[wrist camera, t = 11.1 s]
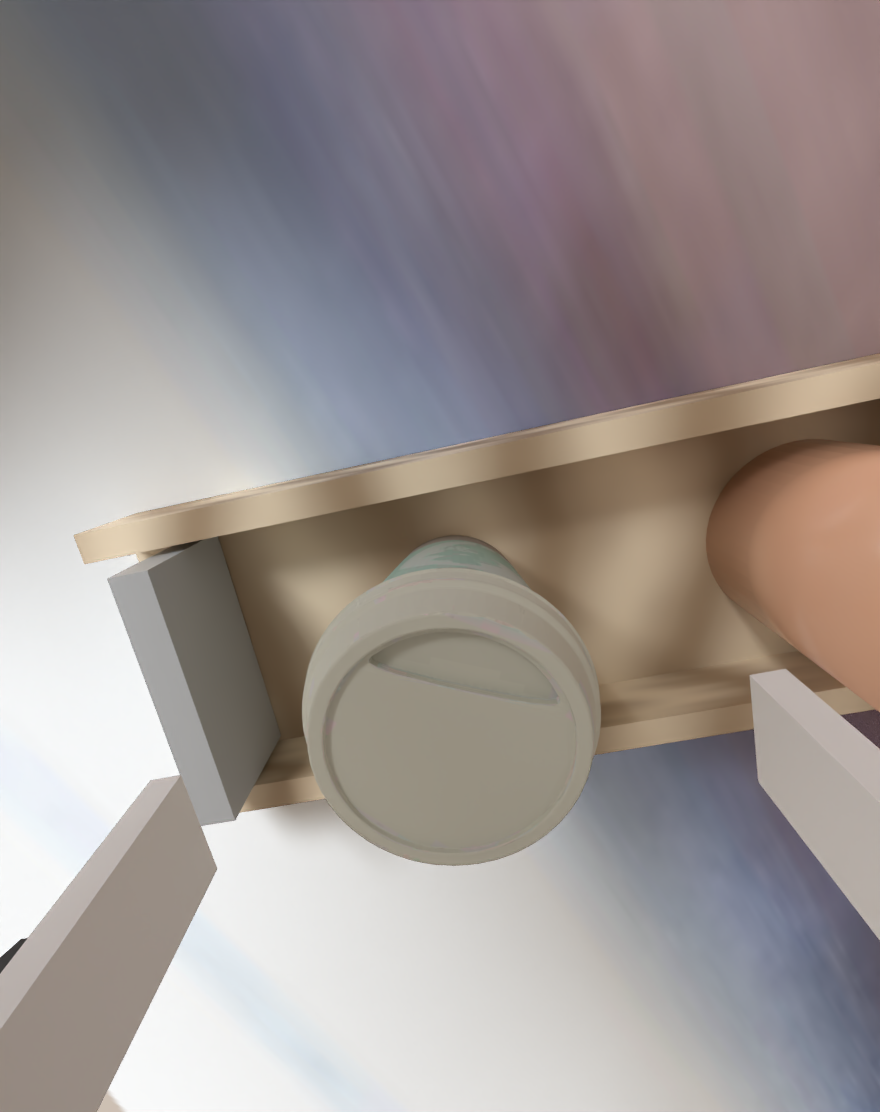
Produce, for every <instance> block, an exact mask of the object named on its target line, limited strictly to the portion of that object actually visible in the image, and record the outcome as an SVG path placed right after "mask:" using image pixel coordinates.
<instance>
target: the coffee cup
mask: <svg viewBox="0 0 880 1112" xmlns="http://www.w3.org/2000/svg"><path fill="white" fill-rule="evenodd" d="M302 721H303V730H304V735H305V739H306V743H307V749H308V755H309V760H310V765H311V768H312V771H313V774H314V777H315V780H316V782H317V784H318V786H319V788H320V790H321V792H322V794H323V795H324V797H325V799H326V800H327V802H328V804H329V805H330V806H331V807H332V809H333V810H334V811H335V812H336V814H337V815H338V816H339V817H340V818H341V819H342V820H343V821H344V822H345V823H346V824H347V825H348V826H349V827H350V828H351V829H353V830H354V831H355V832H356V833H357V834H359V835H360V836H362V837H363V838H364V839H366V840H367V841H369V842H370V843H372V844H374V845H376V846H377V847H379V848H381V849H383V850H385V851H387V852H390V853H392V854H395V855H397V856H400V857H403V858H406V859H409V860H413V861H417V862H422V863H428V864H435V865H452V866H456V865H471V864H479V863H484V862H488V861H493V860H497V859H500V858H503V857H506V856H509V855H511V854H514V853H516V852H519V851H521V850H522V849H524V848H526V847H528V846H530V845H532V844H533V843H535V842H536V841H538V840H539V839H541V838H542V837H544V836H545V835H547V834H548V833H549V832H550V831H551V830H552V829H553V828H555V827H556V826H557V825H558V824H559V823H560V822H561V821H562V820H563V818H564V817H565V816H566V815H567V814H568V813H569V811H570V810H571V809H572V807H573V806H574V804H575V802H576V801H577V799H578V798H579V796H580V794H581V792H582V790H583V788H584V785H585V783H586V781H587V779H588V775H589V771H590V768H591V764H592V760H593V757H594V755H595V751H596V748H597V744H598V740H599V734H600V726H601V704H600V692H599V685H598V679H597V675H596V671H595V667H594V664H593V661H592V659H591V656H590V654H589V652H588V650H587V648H586V646H585V644H584V642H583V640H582V639H581V637H580V636H579V634H578V633H577V631H576V630H575V628H574V627H573V626H572V624H571V623H570V622H569V621H568V620H567V619H566V617H565V616H564V615H563V614H562V613H561V612H560V611H559V610H558V609H557V608H555V607H554V606H553V605H552V604H551V603H550V602H548V601H547V600H546V599H544V598H543V597H542V596H540V595H539V594H537V593H535V592H534V591H532V590H531V589H530V587H529V586H528V585H527V584H526V582H525V581H524V580H523V579H522V577H521V576H520V575H519V574H518V572H517V571H516V570H515V569H514V567H513V566H512V565H511V564H510V563H509V561H508V560H507V559H506V558H505V557H504V556H503V555H502V554H501V553H500V552H499V551H498V550H497V549H496V548H494V547H493V546H491V545H490V544H488V543H486V542H484V541H482V540H479V539H476V538H473V537H468V536H461V535H450V536H443V537H438V538H435V539H432V540H430V541H427V542H425V543H423V544H422V545H420V546H419V547H417V548H416V549H414V550H413V551H412V552H411V553H410V554H409V555H408V556H407V557H406V558H405V559H404V560H403V561H402V562H401V563H400V564H399V565H398V566H397V567H396V568H395V569H394V570H393V572H392V573H391V574H390V575H389V576H388V577H387V578H386V579H385V580H384V581H383V582H382V583H380V584H378V585H376V586H374V587H373V588H371V589H369V590H367V591H366V592H364V593H363V594H361V595H360V596H358V597H357V598H356V599H354V600H353V601H352V602H351V603H349V604H348V605H347V606H346V607H345V608H344V609H343V610H342V611H341V612H340V613H339V614H338V615H337V616H336V617H335V618H334V619H333V621H332V622H331V623H330V624H329V626H328V627H327V629H326V630H325V631H324V633H323V635H322V636H321V638H320V640H319V642H318V643H317V645H316V648H315V650H314V652H313V654H312V657H311V660H310V663H309V666H308V670H307V674H306V680H305V686H304V691H303V699H302Z"/></svg>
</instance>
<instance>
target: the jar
mask: <svg viewBox="0 0 880 1112" xmlns="http://www.w3.org/2000/svg"><path fill="white" fill-rule="evenodd" d="M706 552H707V558H708V563H709V566H710V569H711V572H712V574H713V576H714V578H715V580H716V582H717V584H718V585H719V587H720V588H721V589H722V591H723V592H724V593H725V594H726V595H727V596H728V597H729V598H730V599H731V600H732V601H733V602H735V603H736V604H737V605H738V606H740V607H741V608H742V609H744V610H745V611H746V612H748V613H749V614H750V615H752V616H753V617H754V618H756V619H757V620H758V621H760V622H761V623H762V624H764V625H765V626H766V627H768V628H769V629H770V630H772V631H773V632H774V633H776V634H777V635H778V636H779V637H781V638H782V639H783V640H785V641H786V642H787V643H789V644H790V645H791V646H793V647H794V648H795V649H797V650H798V651H799V652H801V653H802V654H803V655H805V656H806V657H807V658H809V659H810V660H811V661H813V662H814V663H815V664H817V665H818V666H819V667H820V668H822V669H823V670H824V671H826V672H827V673H828V674H830V675H831V676H832V677H834V678H835V679H836V680H838V681H839V682H840V683H842V684H843V685H844V686H846V687H847V688H848V689H850V690H851V691H852V692H854V693H855V694H856V695H858V696H859V697H860V698H861V699H863V700H864V701H865V702H867V703H868V704H869V705H871V706H872V707H873V708H875V709H876V710H877V711H879V712H880V446H878V445H869V444H861V443H852V442H843V441H835V440H826V439H805V440H798V441H793V442H789V443H785V444H782V445H779V446H777V447H774V448H772V449H769V450H768V451H766V452H764V453H762V454H760V455H758V456H757V457H755V458H754V459H753V460H751V461H750V462H748V463H747V464H746V465H745V466H743V467H742V468H741V469H740V470H739V471H738V472H737V473H736V474H735V475H734V476H733V477H732V478H731V480H730V481H729V482H728V483H727V484H726V486H725V487H724V489H723V490H722V492H721V493H720V495H719V497H718V499H717V501H716V502H715V504H714V507H713V510H712V512H711V515H710V518H709V522H708V527H707V534H706Z"/></svg>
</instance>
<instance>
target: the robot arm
mask: <svg viewBox="0 0 880 1112" xmlns="http://www.w3.org/2000/svg"><path fill="white" fill-rule="evenodd" d="M750 687H751V700H752V712H753V724H754V736H755V748H756V760H757V772H758V782H759V783H760V785H761V786H762V787H763V789H764V790H765V791H766V793H767V794H768V795H769V796H770V798H771V799H772V800H773V802H774V803H775V804H776V806H777V807H778V808H779V809H780V811H781V812H782V813H783V815H784V816H785V817H786V819H787V820H788V821H789V823H790V824H791V825H792V826H793V828H794V829H795V830H796V832H797V833H798V834H799V836H800V837H801V838H802V840H803V841H804V842H805V843H806V845H807V846H808V847H809V849H810V850H811V851H812V853H813V854H814V855H815V857H816V858H817V859H818V860H819V862H820V863H821V864H822V866H823V867H824V868H825V870H826V871H827V872H828V873H829V875H830V876H831V877H832V879H833V880H834V881H835V883H836V884H837V885H838V887H839V888H840V889H841V890H842V892H843V893H844V894H845V896H846V897H847V898H848V900H849V901H850V902H851V904H852V905H853V906H854V907H855V909H856V910H857V911H858V913H859V914H860V915H861V917H862V918H863V919H864V920H865V922H866V923H867V924H868V926H869V927H870V928H871V930H872V931H873V932H874V934H875V935H876V936H877V937H878V939H879V940H880V749H879V748H878V747H877V746H876V745H874V744H873V743H872V742H871V741H870V740H869V739H867V738H866V737H865V736H864V735H863V734H861V733H860V732H859V731H858V730H857V729H856V728H854V727H853V726H852V725H851V724H850V723H849V722H847V721H846V720H845V719H844V718H843V717H842V716H840V715H839V714H838V713H837V712H836V711H835V710H833V709H832V708H831V707H830V706H829V705H828V704H826V703H825V702H824V701H823V700H822V699H821V698H819V697H818V696H817V695H816V694H815V693H813V692H812V691H811V690H810V689H809V688H808V687H806V686H805V685H804V684H803V683H802V682H801V681H799V680H798V679H797V678H796V677H795V676H794V675H792V674H791V673H790V672H789V671H788V670H787V669H781V670H775V671H770V672H764V673H758V674H753V675H750ZM216 870H217V867H216V864H215V862H214V859H213V856H212V854H211V851H210V849H209V846H208V844H207V841H206V838H205V836H204V833H203V831H202V828H201V825H200V823H199V820H198V818H197V815H196V813H195V810H194V807H193V805H192V802H191V800H190V797H189V794H188V792H187V789H186V787H185V784H184V782H183V779H182V776H181V775H178V776H172V777H167V778H161V779H155V780H150V782H149V783H148V784H147V786H146V787H145V788H144V789H143V791H142V792H141V793H140V795H139V796H138V797H137V798H136V800H135V801H134V802H133V804H132V805H131V806H130V807H129V809H128V810H127V811H126V813H125V814H124V815H123V816H122V818H121V819H120V820H119V822H118V823H117V824H116V825H115V827H114V828H113V829H112V831H111V832H110V833H109V834H108V836H107V837H106V838H105V840H104V841H103V842H102V843H101V845H100V846H99V847H98V849H97V850H96V851H95V852H94V854H93V855H92V856H91V858H90V859H89V860H88V861H87V863H86V864H85V865H84V867H83V868H82V869H81V870H80V872H79V873H78V874H77V876H76V877H75V878H74V879H73V881H72V882H71V883H70V885H69V886H68V887H67V888H66V890H65V891H64V892H63V894H62V895H61V896H60V897H59V899H58V900H57V901H56V903H55V904H54V905H53V906H52V908H51V909H50V910H49V912H48V913H47V914H46V915H45V917H44V918H43V919H42V921H41V922H40V923H39V924H38V926H37V927H36V928H35V930H34V931H33V932H32V933H31V935H30V936H29V937H28V938H26V939H21V940H20V941H18V942H17V943H16V944H15V945H14V946H13V947H12V948H11V949H9V950H8V951H7V952H6V953H5V954H4V955H3V956H2V957H0V1112H97V1110H98V1108H99V1106H100V1104H101V1102H102V1100H103V1098H104V1096H105V1094H106V1092H107V1090H108V1088H109V1086H110V1084H111V1082H112V1080H113V1078H114V1076H115V1074H116V1072H117V1070H118V1068H119V1066H120V1064H121V1062H122V1060H123V1058H124V1056H125V1054H126V1052H127V1050H128V1048H129V1046H130V1044H131V1042H132V1040H133V1038H134V1036H135V1034H136V1032H137V1030H138V1028H139V1026H140V1024H141V1022H142V1020H143V1018H144V1016H145V1014H146V1012H147V1010H148V1008H149V1005H150V1003H151V1001H152V999H153V997H154V995H155V993H156V991H157V989H158V987H159V985H160V983H161V981H162V979H163V977H164V975H165V973H166V971H167V969H168V967H169V965H170V963H171V961H172V959H173V957H174V955H175V953H176V951H177V949H178V947H179V945H180V943H181V941H182V939H183V937H184V935H185V933H186V931H187V929H188V927H189V925H190V923H191V921H192V919H193V917H194V915H195V913H196V911H197V909H198V907H199V905H200V903H201V901H202V899H203V897H204V895H205V893H206V891H207V889H208V887H209V885H210V883H211V881H212V878H213V876H214V874H215V872H216Z"/></svg>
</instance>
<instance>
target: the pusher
mask: <svg viewBox="0 0 880 1112" xmlns="http://www.w3.org/2000/svg"><path fill="white" fill-rule="evenodd" d="M108 582H109V585H110V588H111V590H112V593H113V596H114V598H115V601H116V604H117V606H118V609H119V612H120V614H121V617H122V620H123V623H124V625H125V628H126V631H127V633H128V636H129V639H130V641H131V644H132V647H133V649H134V652H135V655H136V657H137V660H138V663H139V666H140V668H141V671H142V674H143V676H144V679H145V682H146V684H147V687H148V690H149V692H150V695H151V698H152V701H153V703H154V706H155V709H156V711H157V714H158V717H159V719H160V722H161V725H162V727H163V730H164V733H165V736H166V738H167V741H168V744H169V746H170V749H171V752H172V754H173V757H174V760H175V762H176V765H177V768H178V770H179V773H180V775H181V776H182V779H183V782H184V784H185V787H186V789H187V792H188V794H189V797H190V800H191V802H192V805H193V807H194V810H195V813H196V815H197V818H198V820H199V823H200V825H201V826H203V825H209V824H216V823H222V822H228V821H234V820H236V818H237V816H238V814H239V812H240V811H241V809H242V807H243V805H244V803H245V801H246V799H247V798H248V796H249V794H250V792H251V790H252V788H253V787H254V785H255V783H256V781H257V779H258V777H259V775H260V774H261V772H262V770H263V768H264V766H265V764H266V763H267V761H268V759H269V757H270V755H271V753H272V752H273V750H274V748H275V746H276V744H277V742H278V740H279V739H280V737H281V734H280V731H279V728H278V725H277V721H276V718H275V715H274V712H273V709H272V706H271V703H270V699H269V696H268V693H267V690H266V687H265V684H264V680H263V677H262V674H261V671H260V668H259V665H258V661H257V658H256V655H255V652H254V649H253V646H252V643H251V639H250V636H249V633H248V630H247V627H246V624H245V620H244V617H243V614H242V611H241V608H240V605H239V602H238V598H237V595H236V592H235V589H234V586H233V583H232V579H231V576H230V573H229V570H228V567H227V564H226V560H225V557H224V554H223V551H222V548H221V545H220V542H219V538H218V537H213V538H208V539H203V540H198V541H194V542H189V543H184V544H179V545H174V546H171V547H169V548H167V549H165V550H163V551H161V552H159V553H157V554H155V555H153V556H151V557H149V558H147V559H145V560H143V561H141V562H139V563H137V564H135V565H133V566H131V567H129V568H127V569H126V570H124V571H122V572H120V573H118V574H116V575H114V576H112V577H110V578H108Z"/></svg>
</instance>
